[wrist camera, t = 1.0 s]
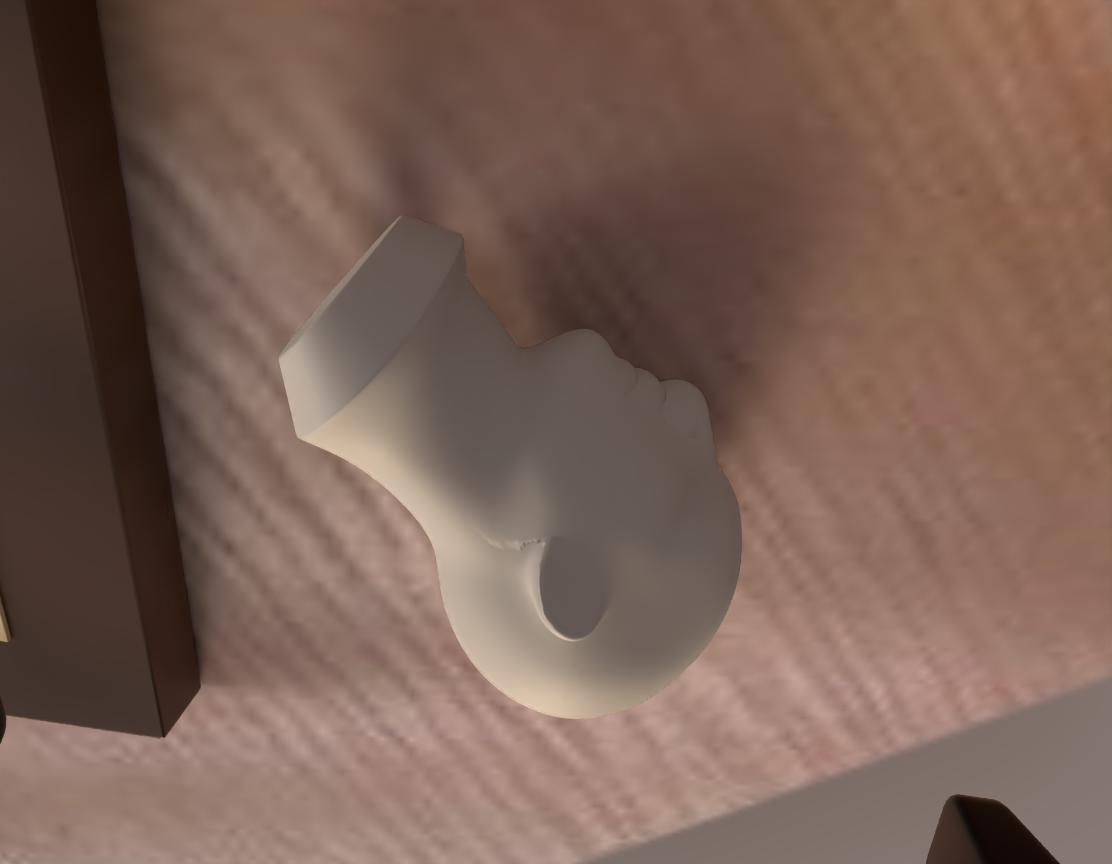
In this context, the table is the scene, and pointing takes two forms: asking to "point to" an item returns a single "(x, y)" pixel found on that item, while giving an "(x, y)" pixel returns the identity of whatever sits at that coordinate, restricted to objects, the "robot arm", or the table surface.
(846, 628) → the table surface
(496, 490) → the smooth white sculpture
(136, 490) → the flat display stand
